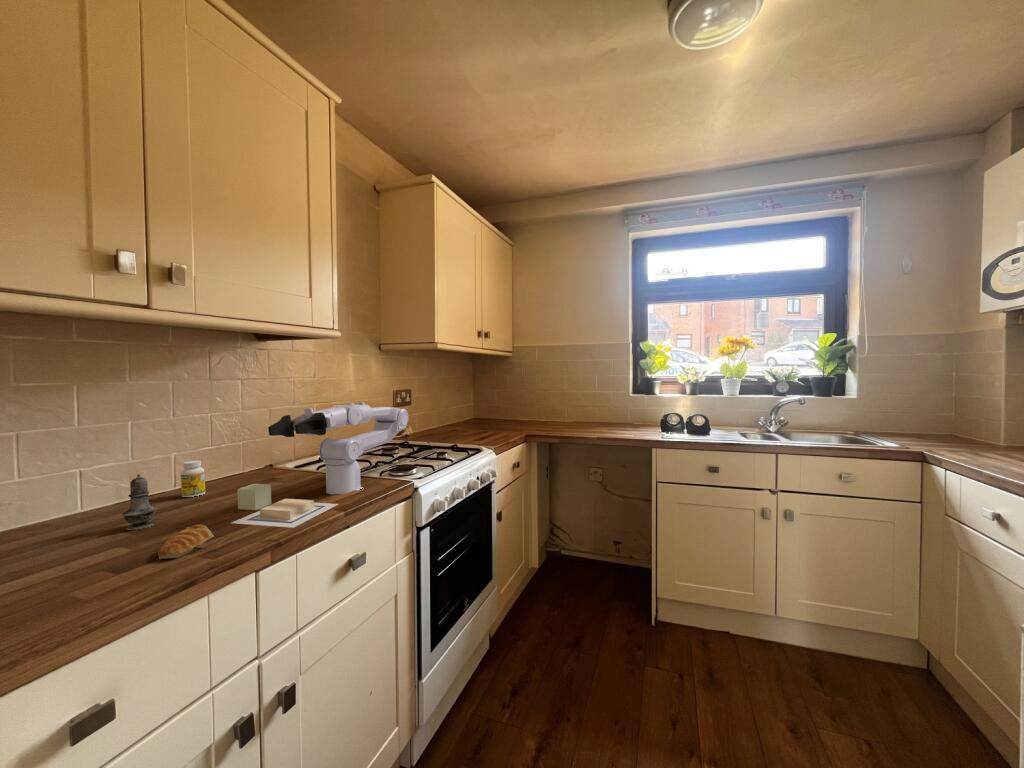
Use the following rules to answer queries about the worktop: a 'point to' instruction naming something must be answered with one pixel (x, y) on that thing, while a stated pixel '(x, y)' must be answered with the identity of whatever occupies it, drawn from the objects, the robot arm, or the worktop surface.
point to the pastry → (185, 542)
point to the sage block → (254, 496)
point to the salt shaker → (139, 505)
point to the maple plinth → (287, 509)
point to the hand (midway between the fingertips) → (283, 430)
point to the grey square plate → (256, 520)
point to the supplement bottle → (192, 479)
